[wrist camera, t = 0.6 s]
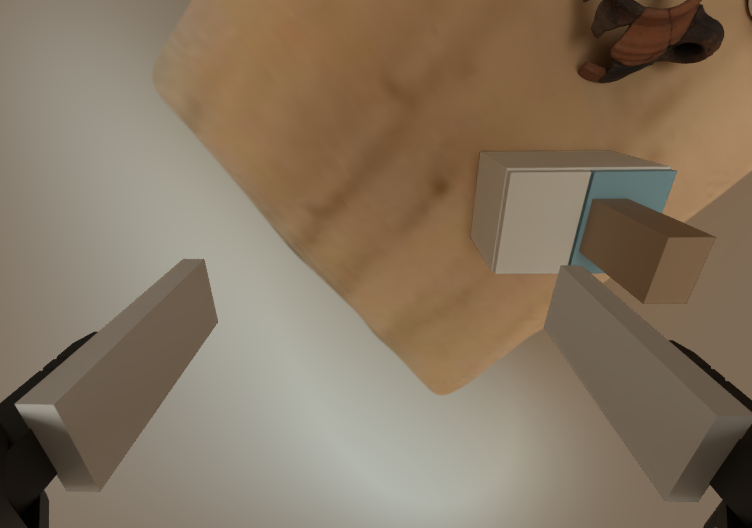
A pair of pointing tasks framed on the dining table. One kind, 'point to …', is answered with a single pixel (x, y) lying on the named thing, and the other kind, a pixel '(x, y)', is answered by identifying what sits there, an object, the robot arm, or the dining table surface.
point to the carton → (535, 205)
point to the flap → (639, 236)
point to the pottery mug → (652, 36)
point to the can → (750, 6)
